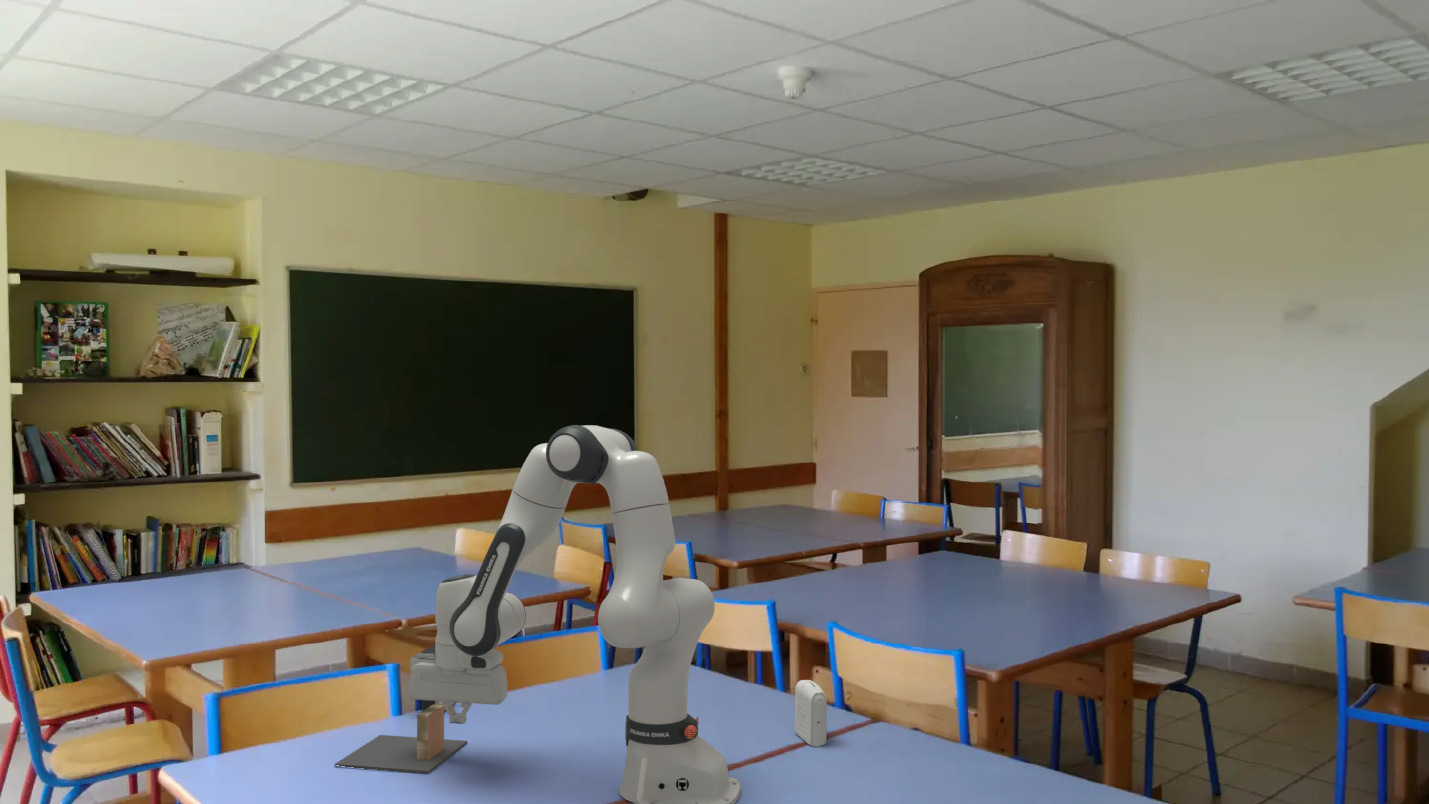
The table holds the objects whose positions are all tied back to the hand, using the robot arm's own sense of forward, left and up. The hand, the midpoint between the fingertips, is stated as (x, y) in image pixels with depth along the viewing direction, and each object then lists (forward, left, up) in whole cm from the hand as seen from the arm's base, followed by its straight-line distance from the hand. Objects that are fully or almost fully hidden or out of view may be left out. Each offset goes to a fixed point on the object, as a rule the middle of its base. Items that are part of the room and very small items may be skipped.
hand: (457, 722), depth 213 cm
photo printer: (-69, -26, -8) cm, 74 cm away
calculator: (+18, -29, -8) cm, 35 cm away
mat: (+12, 0, -7) cm, 14 cm away
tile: (+6, 0, -7) cm, 9 cm away
